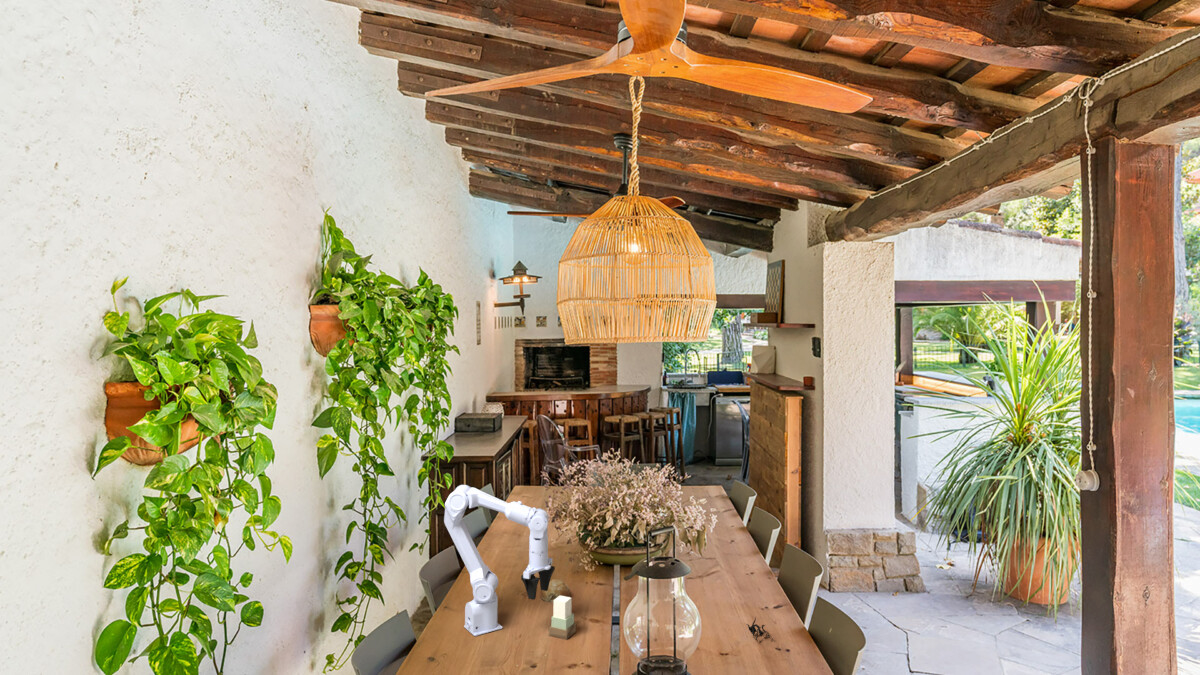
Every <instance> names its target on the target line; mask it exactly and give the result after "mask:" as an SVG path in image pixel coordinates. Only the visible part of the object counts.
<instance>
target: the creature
mask: <svg viewBox="0 0 1200 675" xmlns="http://www.w3.org/2000/svg"><path fill="white" fill-rule="evenodd" d="M756 620H757V617H756V616H755V617H754V620H753V622H752V623H751V626H750V624H749V623H746V625H747V627H748V631H750V633H751V634H752V635H753V636H752V637H755V635H756V634H757V636H756V638H755V639H756V642H757V643H758V642H759V641H758V637H759V636H760V635H761V636H762V637H763V635H765V636H766V638H770V641H773V640H774V638H773V637H772V635H770V633H769V632H768V631H766V630H765V629H764V627H765V626H766V624H762V625H761V626H760V625H758V624H755V623H756ZM756 628H757V629H756ZM761 629H762V630H761ZM758 633H759V636H758ZM754 634H755V635H754ZM761 636H760V637H761Z"/></svg>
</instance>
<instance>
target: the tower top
mask: <svg viewBox="0 0 1200 675" xmlns="http://www.w3.org/2000/svg"><path fill="white" fill-rule="evenodd" d="M574 623H575V613H572V612H571V615H570V616H568V617H567V618H566V619H562V618H557V617H553V615H552V616H551V625H550V626H551V627H555V628H559V629H563V630H567V629H568V628H569V627H571V626H572V625H573V624H574Z"/></svg>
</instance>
